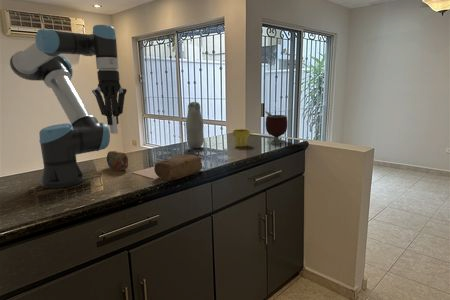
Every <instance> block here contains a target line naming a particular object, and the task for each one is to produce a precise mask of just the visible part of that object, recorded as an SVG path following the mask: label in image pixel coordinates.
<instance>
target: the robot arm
mask: <svg viewBox="0 0 450 300" xmlns="http://www.w3.org/2000/svg"><path fill="white" fill-rule="evenodd" d="M62 54H65V55H77V56H78V55H79V56H84V57H94V56H95V63H96V69H97V72H96V74H97V80H98V84H97V87H96V88H95V89H92V90H91V92H92V93H93V95H94V96H95V98H96V103H97V105H98V107H99V111H100V114H101V116H105V117H106V118H107V119H106V122H107V124H106V123H105V122H99V121H98V119H97V118H96V116H93V115H91V114H90V113H89V110H88V109H87V107H86V105H85V104H84V102H83V99H81V97H80V95H79V94H78V91H77V90H76V89H75V87H74V85H73V83H72V82H71V80H72V78H73V68H72V64H71V61H70V60H69V59H68V58H67V57H65V56H64V55H62ZM9 66H10V69H11V70H12V71H13V73H14V74H15V75H16V76H18V77H19V78H21V79H24V80H26V81H39V82H40V81H43V82H44V84H45V86H46V87H48V88H50V89H51V90H52V92H53V94H54V95H55V97H56V99H57V101H58V102H59V104H60V106H61V108H62V110H63V111H64V113H65V115H66V117H67V119H68V121H69V122H70V123H68V122H67V123H60V124H59V123H58V124H53V125H48V126H46V127H43V128H42V129H40V130H39V132H38V133H39V144H40V148H41V150H40V151H41V155H42V156H41V157H42V164H43V170H42V174H41V180H40V184H41V187H42V188H44V189H48V190H49V189H61V188H62V189H63V188H64V189H65V188H68V187H69V188H70V187H72V186H76V185H79V184H80V183H83V182H84V180H85V177H84V174H83V171H82V170H81V168H80V165H79V164H78V161H77V155H82V154H86V153H93V152H99V151H102V150H105V149H107V148H108V146H109V144H110V141H111V134H113V135H115V134H119V133H118V125H119V123H120V122H119V116H120V115H122V114H123V112H124V111H123V110H124V105H125V104H124V103H125V96H126V93H127V91H128V90H127V89H126V88H123V87H122V85H121V82H120V72H119V70H118V69H119V59H118V45H117V36H116V30H115V27H113V26H112V25H109V24H95V25H93V27H92V33H90V34H87V33H78V32H72V31H71V32H70V31H63V30H55V29H49V28H48V29H38V30H37V31H36V34H35V42H33V43H32V44H31V45H29V46H28V47H26V48H25V49H24V50H20V51H17V52H15V53H14V54H13V55H11V57H10V60H9ZM101 93H102V94H103V96H102V94H101Z"/></svg>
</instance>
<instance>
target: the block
mask: <svg viewBox="0 0 450 300" xmlns="http://www.w3.org/2000/svg"><path fill="white" fill-rule="evenodd" d="M153 167H154V170H155V173H156V175H157V176H158V177H161V178H160V179H161V180H163V181H168V182H170V181H174V180H179V179H182V178H184V177H187V176H190V175H193V174H194V173H197V172H199V171H201V170H202V169H203V162H202V157H201V156H200V155H197V154H196V155H195V154H190V153H189V154H179V155H175V156H172V157H170V158H168V159H165V160H160V161H158V162H156V163H155V164H154V166H153Z"/></svg>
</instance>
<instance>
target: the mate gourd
mask: <svg viewBox="0 0 450 300" xmlns="http://www.w3.org/2000/svg"><path fill="white" fill-rule="evenodd" d="M264 113H266V114H267V115H266V118H265V130H266V132H267V134H268V135H270V136H271V137H273V139H268V140H266V143H267V144H270V143H272V145H275V144H274V143H283V144H286V143H287V141H286V140H285V139H280V137H281V136H283V135H285V134H286V132H287V129H288V116H287V115H285V114H272V113H270V112H268V111H266V110H264ZM285 142H286V143H285Z"/></svg>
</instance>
